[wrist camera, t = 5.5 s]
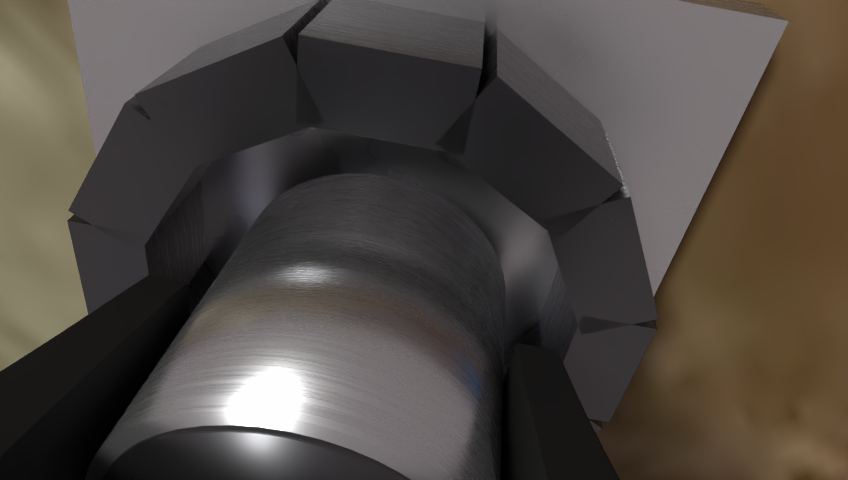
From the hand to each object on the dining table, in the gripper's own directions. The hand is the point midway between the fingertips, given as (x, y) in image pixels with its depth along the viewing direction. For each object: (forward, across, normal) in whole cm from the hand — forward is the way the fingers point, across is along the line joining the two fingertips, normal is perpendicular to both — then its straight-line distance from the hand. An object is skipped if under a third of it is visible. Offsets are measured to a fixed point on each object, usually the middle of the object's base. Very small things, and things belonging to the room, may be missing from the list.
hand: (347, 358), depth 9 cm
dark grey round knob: (+2, 0, 0) cm, 2 cm away
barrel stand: (+4, 0, 0) cm, 4 cm away
